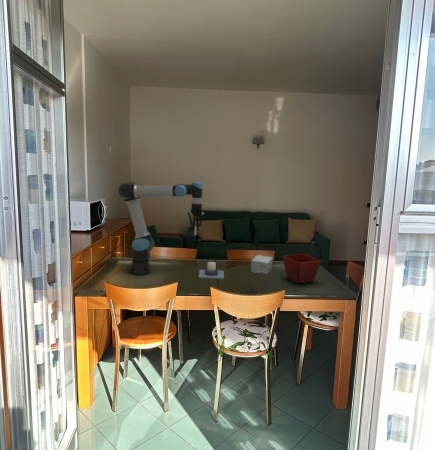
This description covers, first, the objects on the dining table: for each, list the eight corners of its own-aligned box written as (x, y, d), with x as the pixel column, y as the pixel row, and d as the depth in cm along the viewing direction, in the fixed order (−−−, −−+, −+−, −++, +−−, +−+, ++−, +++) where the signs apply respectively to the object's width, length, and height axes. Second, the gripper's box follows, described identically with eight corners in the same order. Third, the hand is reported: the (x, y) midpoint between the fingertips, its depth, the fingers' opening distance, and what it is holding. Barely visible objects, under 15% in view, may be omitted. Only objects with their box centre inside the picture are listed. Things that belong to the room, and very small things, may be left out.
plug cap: (207, 272, 246) (207, 261, 244) (215, 272, 246) (215, 261, 244) (206, 274, 240) (207, 263, 238) (215, 275, 240) (215, 264, 239)
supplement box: (255, 266, 270) (256, 254, 268) (272, 268, 266) (273, 257, 264) (250, 272, 255) (251, 260, 253) (267, 274, 250) (268, 262, 248)
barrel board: (198, 278, 235) (198, 273, 234) (199, 270, 251) (199, 266, 250) (224, 279, 235) (224, 274, 235) (223, 271, 251) (223, 267, 250)
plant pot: (280, 277, 245) (282, 255, 242) (301, 275, 253) (303, 253, 250) (296, 286, 228) (299, 262, 225) (319, 283, 236) (321, 260, 232)
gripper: (187, 203, 241) (186, 235, 246) (205, 204, 242) (204, 236, 246) (188, 202, 249) (187, 233, 253) (205, 203, 249) (204, 234, 253)
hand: (195, 234), depth 250 cm, fingers closed
